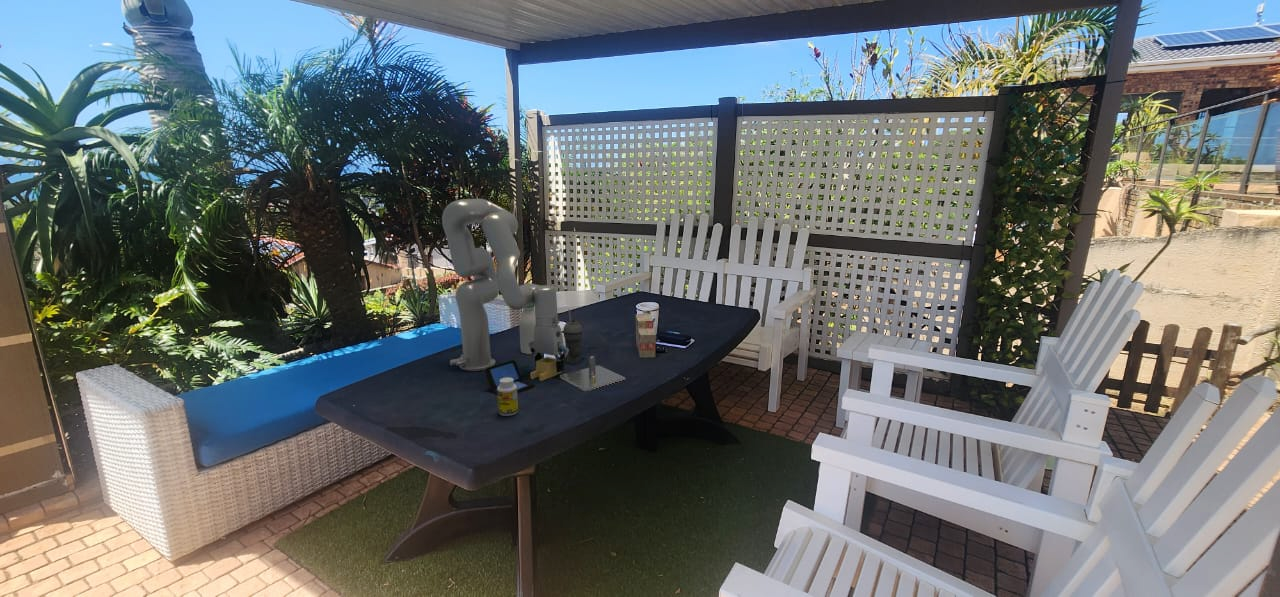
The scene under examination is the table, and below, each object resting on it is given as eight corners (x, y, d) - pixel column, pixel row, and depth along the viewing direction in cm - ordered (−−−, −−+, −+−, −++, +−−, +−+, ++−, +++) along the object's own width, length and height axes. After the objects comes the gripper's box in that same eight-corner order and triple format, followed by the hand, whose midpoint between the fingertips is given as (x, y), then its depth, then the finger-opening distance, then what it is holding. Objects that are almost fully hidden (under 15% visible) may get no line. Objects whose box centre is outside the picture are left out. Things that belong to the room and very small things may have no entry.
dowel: (592, 382, 175) (592, 376, 175) (590, 381, 176) (590, 375, 176) (596, 381, 176) (596, 375, 176) (593, 380, 177) (593, 374, 177)
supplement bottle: (494, 415, 153) (492, 381, 151) (506, 407, 158) (504, 375, 156) (511, 418, 151) (508, 384, 149) (522, 410, 156) (520, 377, 154)
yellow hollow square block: (547, 369, 190) (547, 356, 189) (560, 372, 187) (560, 359, 186) (529, 378, 182) (528, 364, 181) (542, 381, 179) (542, 367, 178)
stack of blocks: (655, 357, 203) (656, 326, 201) (639, 358, 203) (639, 327, 200) (650, 341, 224) (650, 313, 221) (635, 341, 224) (635, 313, 221)
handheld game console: (505, 398, 166) (504, 376, 164) (484, 390, 172) (483, 369, 171) (536, 387, 175) (535, 365, 174) (515, 379, 182) (514, 359, 180)
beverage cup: (582, 364, 196) (580, 311, 191) (562, 364, 196) (560, 311, 192) (584, 358, 203) (583, 307, 199) (565, 357, 203) (563, 307, 199)
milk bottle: (538, 354, 207) (536, 304, 203) (518, 354, 207) (515, 304, 203) (542, 348, 215) (540, 300, 211) (523, 348, 215) (520, 300, 211)
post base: (585, 391, 170) (584, 368, 168) (559, 377, 182) (559, 355, 181) (625, 380, 180) (625, 357, 178) (598, 367, 192) (598, 346, 190)
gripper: (573, 322, 181) (575, 369, 184) (535, 316, 190) (538, 362, 193) (559, 327, 175) (561, 376, 178) (520, 321, 183) (523, 368, 187)
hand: (549, 368), depth 186 cm, fingers open, 9 cm apart
